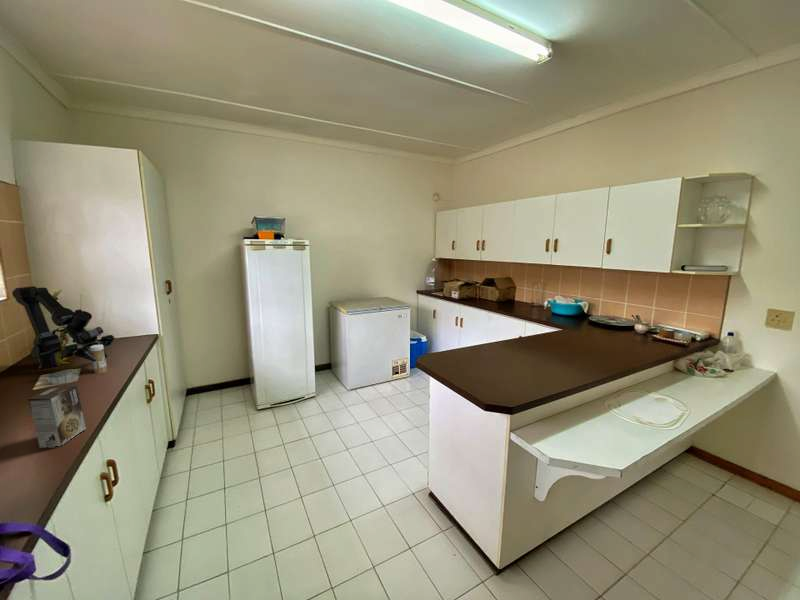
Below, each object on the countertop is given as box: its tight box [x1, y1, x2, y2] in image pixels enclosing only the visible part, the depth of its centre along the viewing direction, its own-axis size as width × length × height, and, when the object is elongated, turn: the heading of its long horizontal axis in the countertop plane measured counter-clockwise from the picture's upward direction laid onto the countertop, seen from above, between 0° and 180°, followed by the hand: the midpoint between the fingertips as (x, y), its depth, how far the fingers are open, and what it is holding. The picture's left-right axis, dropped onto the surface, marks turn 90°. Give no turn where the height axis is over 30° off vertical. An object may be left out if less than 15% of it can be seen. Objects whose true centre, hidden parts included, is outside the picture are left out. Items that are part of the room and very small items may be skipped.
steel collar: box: [47, 368, 79, 385], centre depth 142 cm, size 9×9×3 cm
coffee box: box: [28, 384, 87, 449], centre depth 101 cm, size 9×6×16 cm
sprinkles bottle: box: [89, 345, 108, 374], centre depth 150 cm, size 5×5×13 cm
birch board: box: [32, 368, 82, 390], centre depth 144 cm, size 18×13×1 cm
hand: (101, 359), depth 150 cm, fingers closed on sprinkles bottle, 4 cm apart
